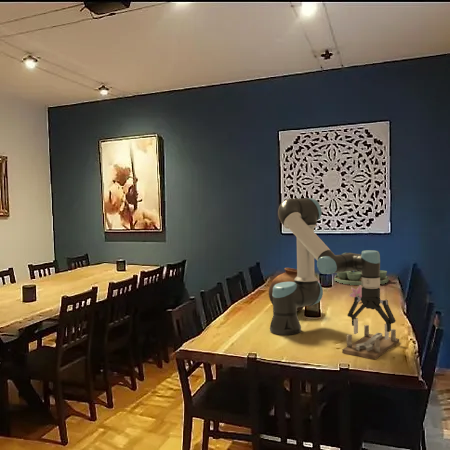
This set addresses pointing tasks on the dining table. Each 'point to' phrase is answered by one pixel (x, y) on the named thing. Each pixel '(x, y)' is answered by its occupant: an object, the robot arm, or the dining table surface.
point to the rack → (379, 345)
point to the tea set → (357, 277)
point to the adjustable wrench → (369, 343)
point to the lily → (356, 292)
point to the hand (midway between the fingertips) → (370, 336)
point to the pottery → (284, 277)
